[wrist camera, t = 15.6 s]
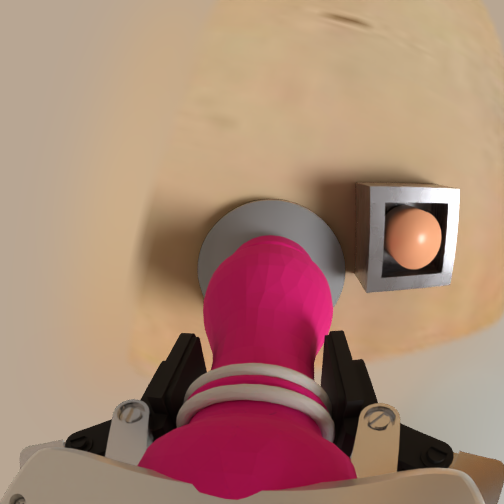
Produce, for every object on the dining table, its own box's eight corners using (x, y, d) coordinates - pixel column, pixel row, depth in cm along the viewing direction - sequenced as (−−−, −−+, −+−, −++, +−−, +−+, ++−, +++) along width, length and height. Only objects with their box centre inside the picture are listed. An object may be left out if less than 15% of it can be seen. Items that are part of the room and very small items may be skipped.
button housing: (355, 182, 19) (370, 186, 16) (435, 184, 19) (459, 189, 15) (354, 273, 21) (366, 292, 18) (430, 268, 21) (450, 284, 17)
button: (380, 205, 18) (392, 210, 16) (427, 205, 18) (443, 210, 16) (378, 259, 20) (389, 271, 17) (423, 256, 19) (438, 267, 17)
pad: (193, 204, 21) (188, 206, 20) (342, 196, 20) (345, 197, 19) (210, 332, 24) (208, 338, 23) (338, 328, 23) (340, 335, 22)
